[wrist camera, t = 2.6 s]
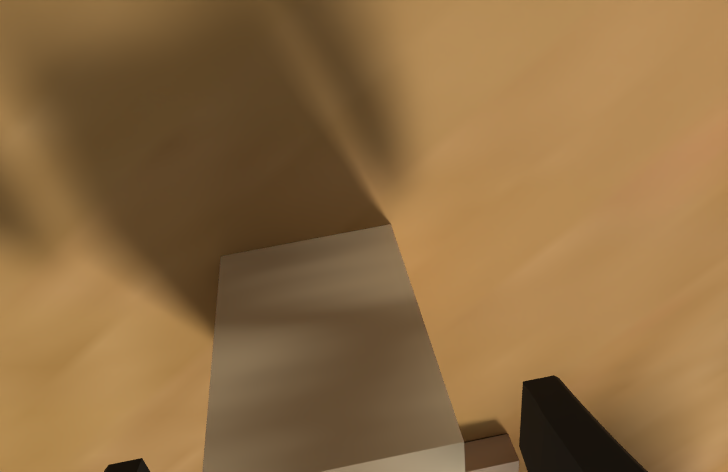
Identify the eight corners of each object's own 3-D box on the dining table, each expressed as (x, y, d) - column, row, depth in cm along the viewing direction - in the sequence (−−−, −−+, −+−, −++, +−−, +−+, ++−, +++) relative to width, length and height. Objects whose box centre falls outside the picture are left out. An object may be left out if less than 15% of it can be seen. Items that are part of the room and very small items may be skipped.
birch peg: (260, 371, 16) (260, 612, 11) (220, 255, 14) (200, 496, 9) (404, 343, 16) (468, 567, 11) (390, 223, 14) (463, 441, 9)
